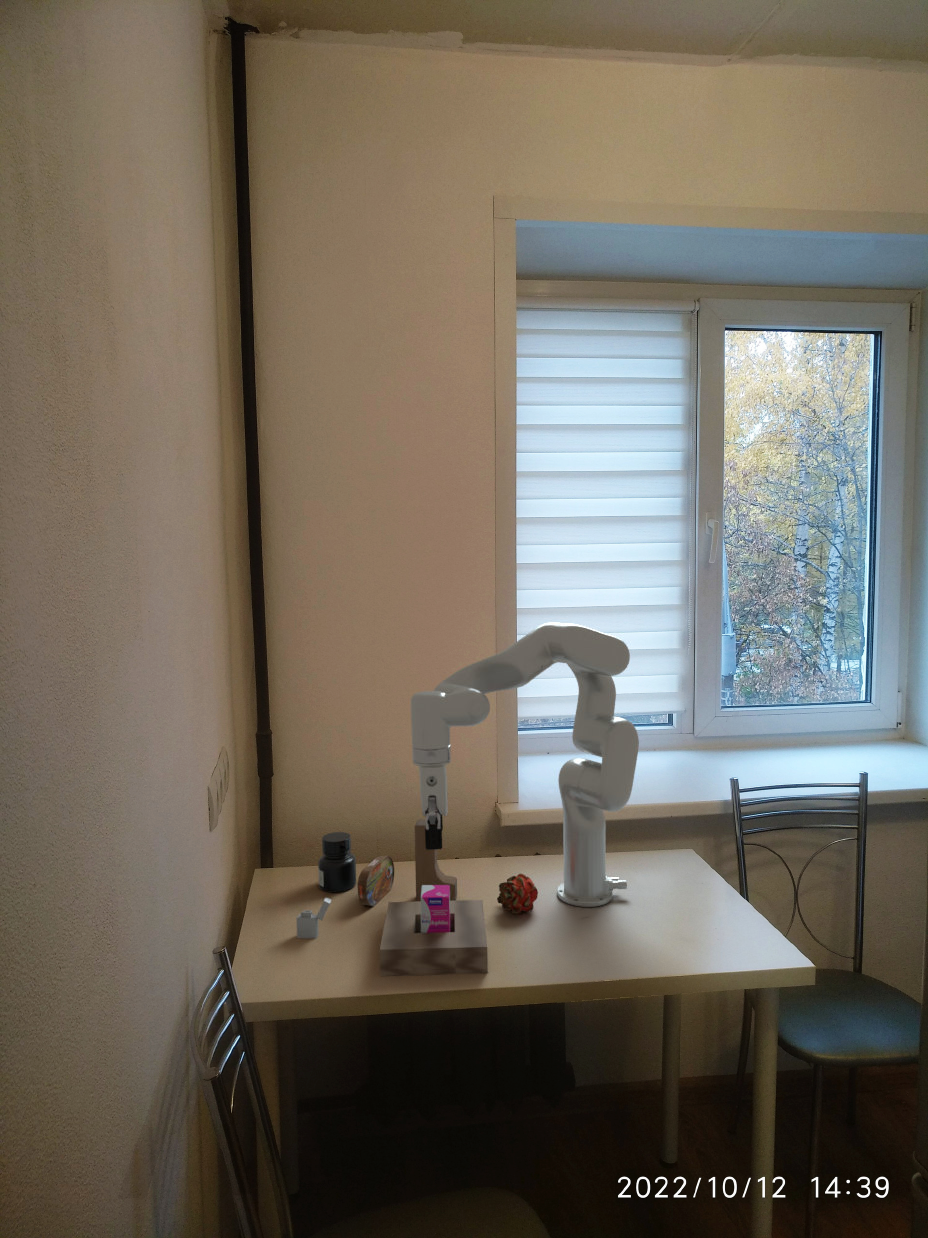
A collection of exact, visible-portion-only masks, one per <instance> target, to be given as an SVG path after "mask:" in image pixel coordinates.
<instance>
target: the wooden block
mask: <svg viewBox="0 0 928 1238" xmlns="http://www.w3.org/2000/svg"><path fill="white" fill-rule="evenodd" d="M425 828H426V819H417V820H416V823H415V825H414V854H415V855H414V859H415V861H414V863H415V864H414V867H415V868H414V869H415V902H417V901H421V888H422V885H450V901H457V898H458V878H457V877H456V876H451V875H446V874H445V873H444V872H443V871H442V870H441V869H440V868H439V867H440V866H439V863H438V849H435V850H427V849H426V845H425Z"/></svg>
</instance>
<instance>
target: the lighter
mask: <svg viewBox="0 0 928 1238" xmlns="http://www.w3.org/2000/svg"><path fill="white" fill-rule="evenodd" d="M331 902H332V899H330V898H328V897H324V899H323V902H322V904H321V906H320V908H319V910H318V913H314V914H313V910H311V909H310V910H309V909H307V910H306V909H305V910H303V911H301V912H300V913H298V914H297V916H296V919H295V920H296V938H297V939H317V938H319V937H318V936H319V920H320V921H323V919H324V917H325V915H326V914H327V911H328V908H329V907H330V905H331Z"/></svg>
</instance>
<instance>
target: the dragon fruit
mask: <svg viewBox="0 0 928 1238" xmlns="http://www.w3.org/2000/svg"><path fill="white" fill-rule="evenodd" d="M498 888H499V889H498V891H499V893H498V895H499V896H497V898H496V900H497V903H498V904H501V907H502V908H503V910H509V912H510V913H512V914H514V915H520V914H521V913H522V911H524V912H525V913H528V912H530V913H531V912H532V911H533V909H534V902H535V901H536V900H537V899H538V896H539V893H538V888H537V887H536V886H535V884H534V882H533V880H532V878H531V877H529V876H526V875H525V874H524V873H519V874H517V875H512V876H510V877H509V878H507V880H506V881H505V882H501V883H499V884H498Z"/></svg>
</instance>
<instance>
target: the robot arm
mask: <svg viewBox="0 0 928 1238" xmlns="http://www.w3.org/2000/svg"><path fill="white" fill-rule="evenodd" d="M630 654H631V653H630V650H629V647H628V646H627V643H626V642H625V641H623V640H622V639H621V638H619V637H617V636H614V635H611V634H607V633H605V632H601V631H598V630H596V629H592V628H589V627H587V626H583V625H580V624H576V623H564V622H563V623H561V622H547V623H543V624H541V625H539V626H538V627H536V628H534V629H533V630H531V631H530V632H528V633H527V634H526V635H525V636H523V637H521V638H520V639H518V640H517V641H516V642H514V643H513V644H512V645H510V646H509V647H507V648H505V649H504V650H503V651H501V652H499V653H496V654H494V655H491V656H489V657H486V658H483V659H480V660H478V661H476V662H474V663H471V664H468V665H467V666H465V667H463V668H460V669H459V670H456V671H455V672H454V673H452V674H451V675H449V676H447V677H446V678H445V679H444V680H443V681H441V682H439V683H438V684H437V685H436V686H435V688H434V689H432V690H425V691H419V692H416V693H414V694H413V695H412V696H411V698H410V722H411V723H410V724H411V725H410V726H411V746H412V747H411V750H412V751H411V753H412V764H413V765H415V766H417V767H418V775H419V779H418V780H419V792H420V793H419V794H420V803H421V812H422V816H424V817H425V820H426V828H425V845H426V849H427V850H435V849H437V850H442V849H443V830H444V828H443V825H444V824H443V822H444V821H443V816H444V817H446V816H447V815H448V809H449V808H448V803H449V802H448V798H449V797H448V776H447V765H449V764H450V763H451V762H452V759H451V758H452V757H451V756H452V755H451V754H452V753H451V727H474V726H477V725H480V724H481V723H483V722H484V721H486V719H487V717H488V716H489V713H490V710H491V703H490V700H489V698H488V696H487V695H488V694H489V693H490V694H491V693H495V692H500V691H508V690H513V689H518V688H522V687H524V686H526V685H527V684H529V683H530V682H531V681H532V680H534V679H535V678H536V677H538V676H539V675H540V674H542V673H544V672H545V671H546V670H547V669H549V668H550V667H552V665H555V664H558V663H561V664H566V665H567V666H568V667H569V669H570V670H571V671H572V674H573V675H574V677H575V680H576V682H577V686H578V695H577V697H578V698H577V704H576V710H575V715H574V716H575V717H574V723H573V729H572V743H573V745H574V747H575V748H576V749H578V751H581V752H582V753H585V754H589V755H591V756H595V757H599V758H601V762H598V761H594V760H590V759H587V758H583V757H582V758H581V757H580V758H577V757H576V758H572V759H569V760H567V761H566V762H564V763H563V765H562V767H561V768H560V769H559V773H558V789H559V793H560V798H561V805H562V806H561V807H562V819H563V820H562V823H563V829H562V830H563V831H562V833H563V840H562V841H563V882H562V883H560V884H559V885H558V886H557V889H556V894H557V897H558V899H560V900H561V901H562V902H564V903H566V904H569V905H572V906H576V907H583V908H593V907H595V908H596V907H600V906H604V905H606V904H608V903H609V902H611V901H612V899H613V896H614V895H613V891H614V890H627V889H628V884H627V880H625V879H624V880H620V879H619V878H620V877H618V876H617V877H615V876H614V877H613V876H612V877H609V876H607V874H606V870H607V869H606V868H607V867H606V864H607V863H606V859H607V857H606V856H607V855H606V817H605V813H604V811H605V812H618V811H620V810H622V809H624V807H625V806H626V805H627V804H628V802H629V800H630V797H631V795H632V791H633V786H634V781H635V774H636V767H637V761H638V754H639V747H640V742H639V741H640V740H639V733H638V730H637V729H636V727H635V725H634V724H633V723H632V722H631V721H630V720H628V719H626V718H622V717H619V716H615V709H616V700H617V699H616V698H617V689H616V684H615V682H614V679H613V677H614V676H618V675H620V674H621V673H623V672H624V671H625V670H626V669H627V668H628V666H629V664H630V659H631V655H630ZM486 694H487V695H486Z"/></svg>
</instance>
